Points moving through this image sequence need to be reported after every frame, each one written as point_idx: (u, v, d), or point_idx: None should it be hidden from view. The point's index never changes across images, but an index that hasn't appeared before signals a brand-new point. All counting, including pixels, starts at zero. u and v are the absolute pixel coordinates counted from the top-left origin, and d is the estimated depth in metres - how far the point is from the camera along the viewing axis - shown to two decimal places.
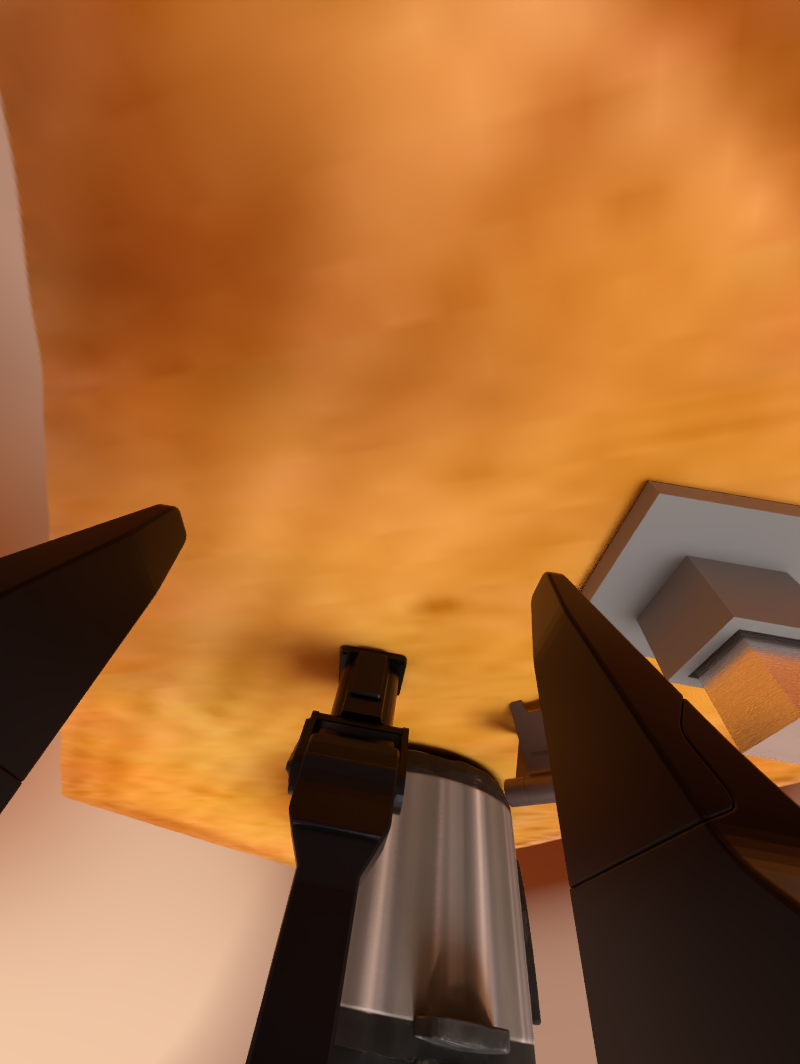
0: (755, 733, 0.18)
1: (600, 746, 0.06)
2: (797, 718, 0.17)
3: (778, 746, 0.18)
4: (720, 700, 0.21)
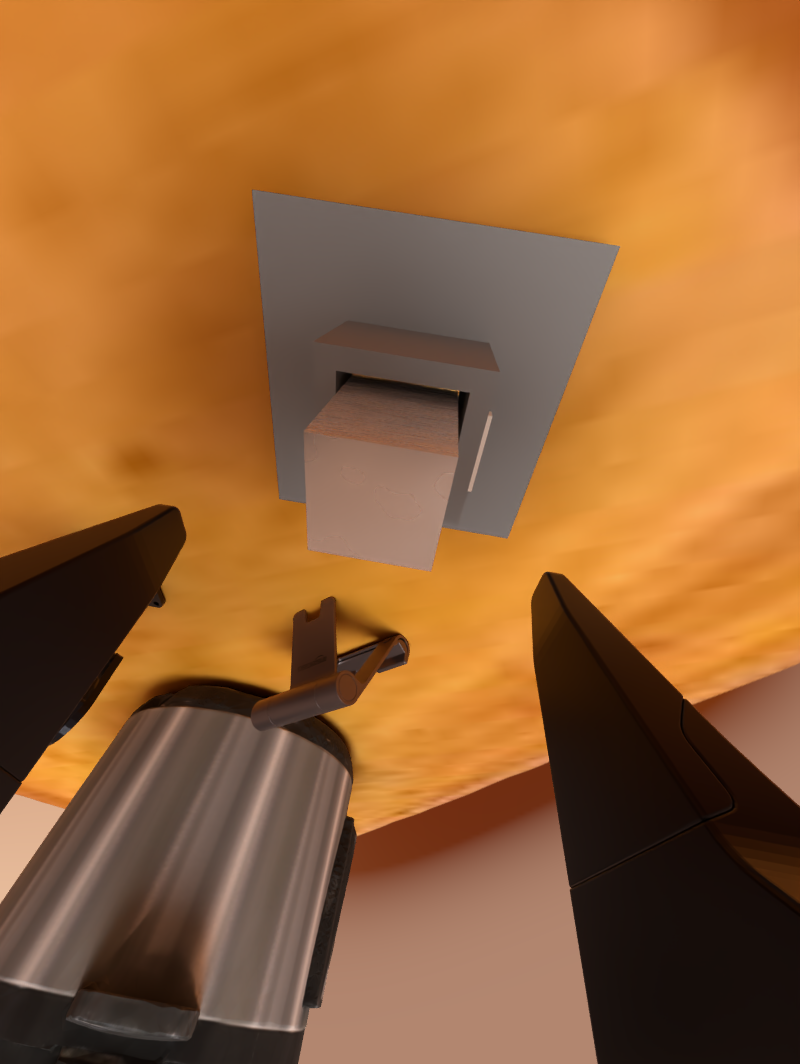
0: None
1: (600, 746, 0.06)
2: (304, 440, 0.10)
3: (338, 523, 0.11)
4: None
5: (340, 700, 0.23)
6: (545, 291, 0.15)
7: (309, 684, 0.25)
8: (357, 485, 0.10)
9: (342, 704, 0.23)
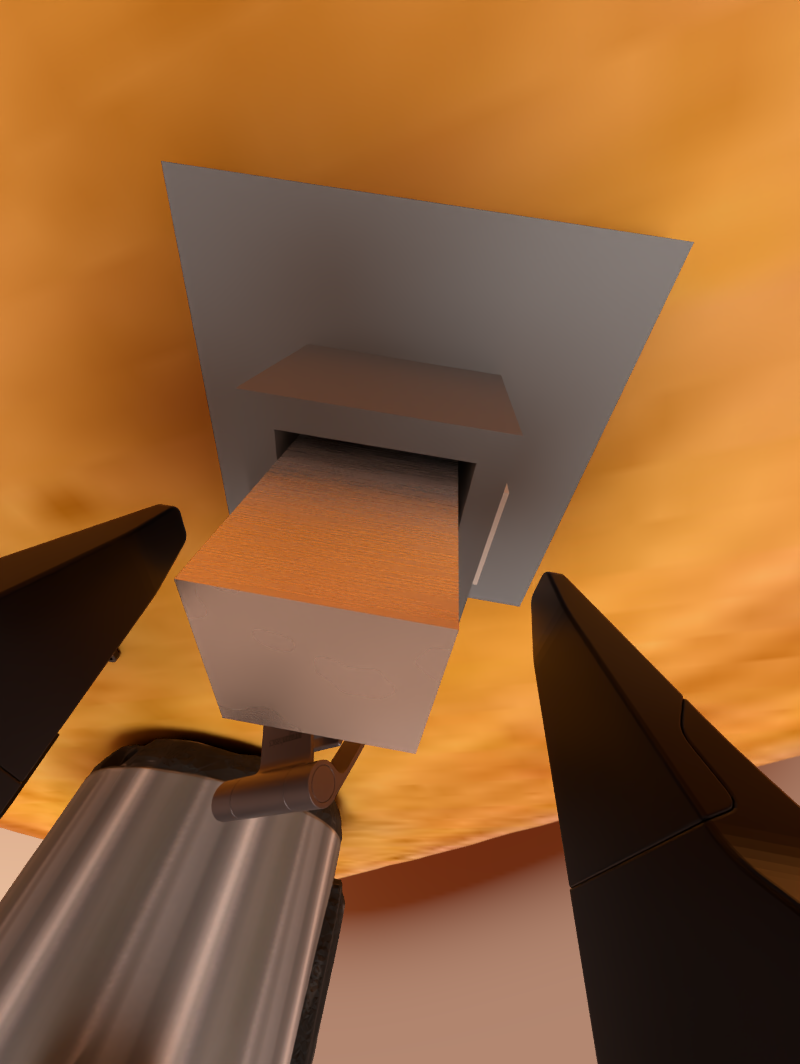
0: None
1: (600, 746, 0.06)
2: (180, 589, 0.05)
3: (262, 694, 0.07)
4: None
5: (313, 804, 0.19)
6: (582, 307, 0.11)
7: (278, 774, 0.21)
8: (284, 653, 0.06)
9: (316, 807, 0.19)
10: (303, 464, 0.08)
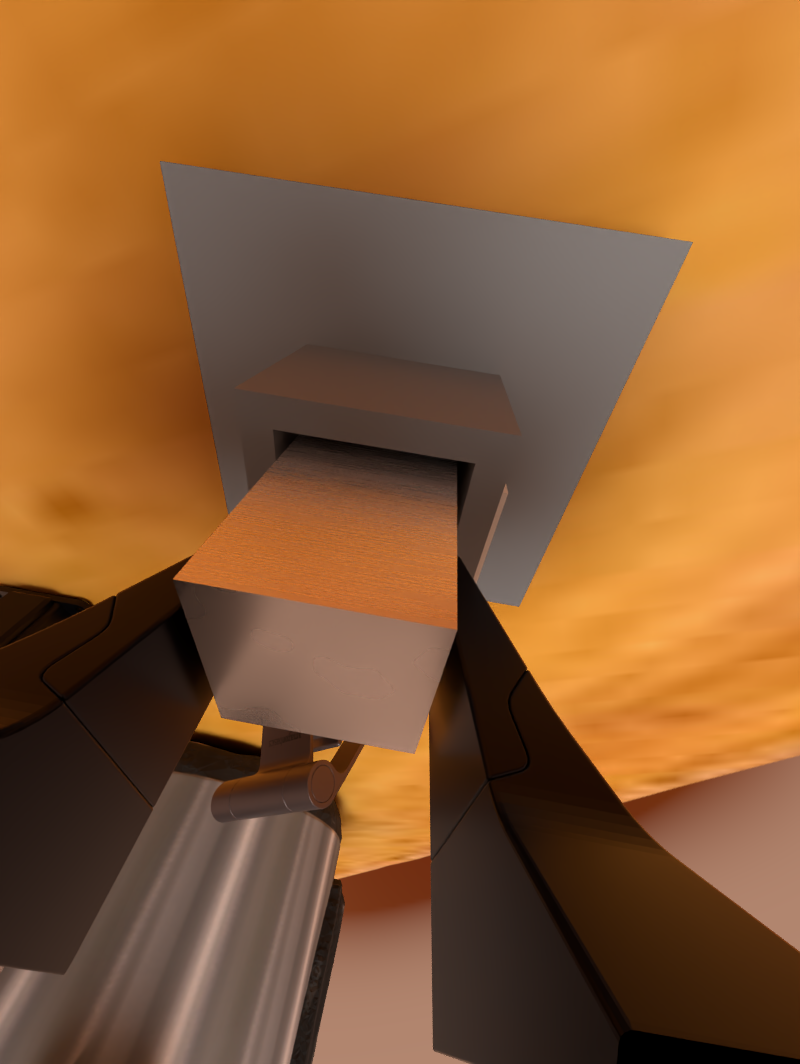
0: None
1: (450, 718, 0.06)
2: (178, 589, 0.05)
3: (261, 694, 0.07)
4: None
5: (312, 804, 0.19)
6: (581, 307, 0.11)
7: (278, 774, 0.21)
8: (282, 653, 0.06)
9: (315, 808, 0.19)
10: (302, 464, 0.08)
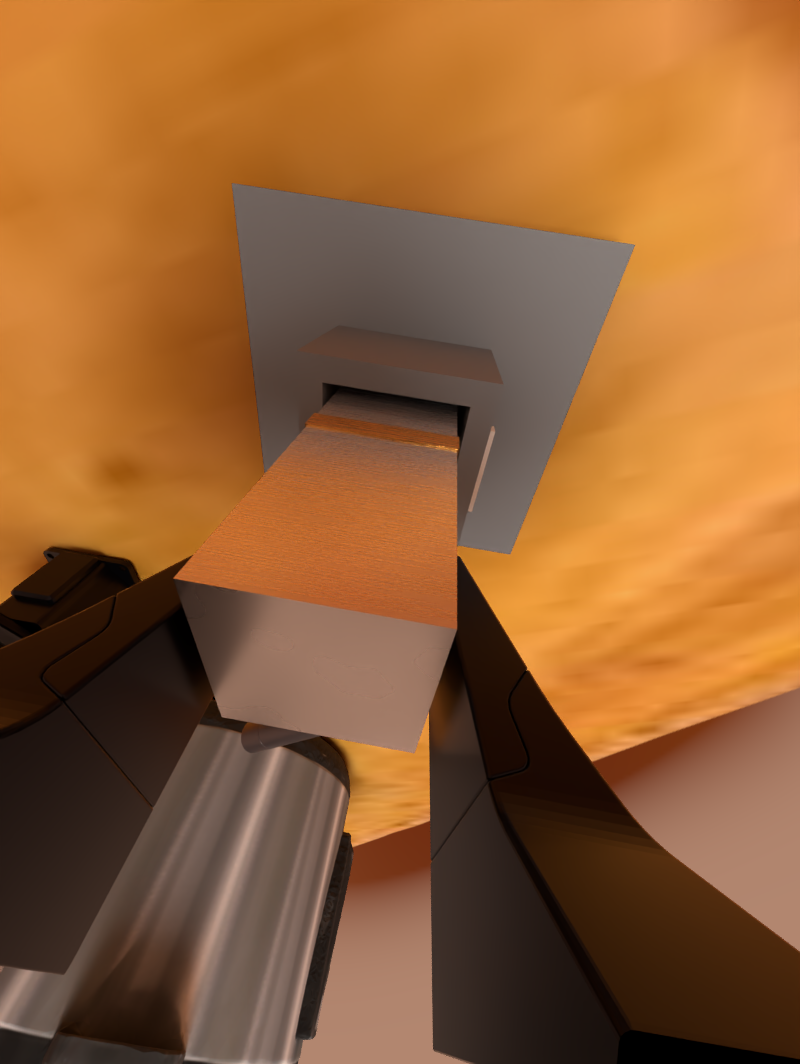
0: None
1: (450, 718, 0.06)
2: (178, 589, 0.05)
3: (261, 693, 0.07)
4: None
5: None
6: (553, 294, 0.14)
7: None
8: (283, 653, 0.06)
9: None
10: (302, 464, 0.08)
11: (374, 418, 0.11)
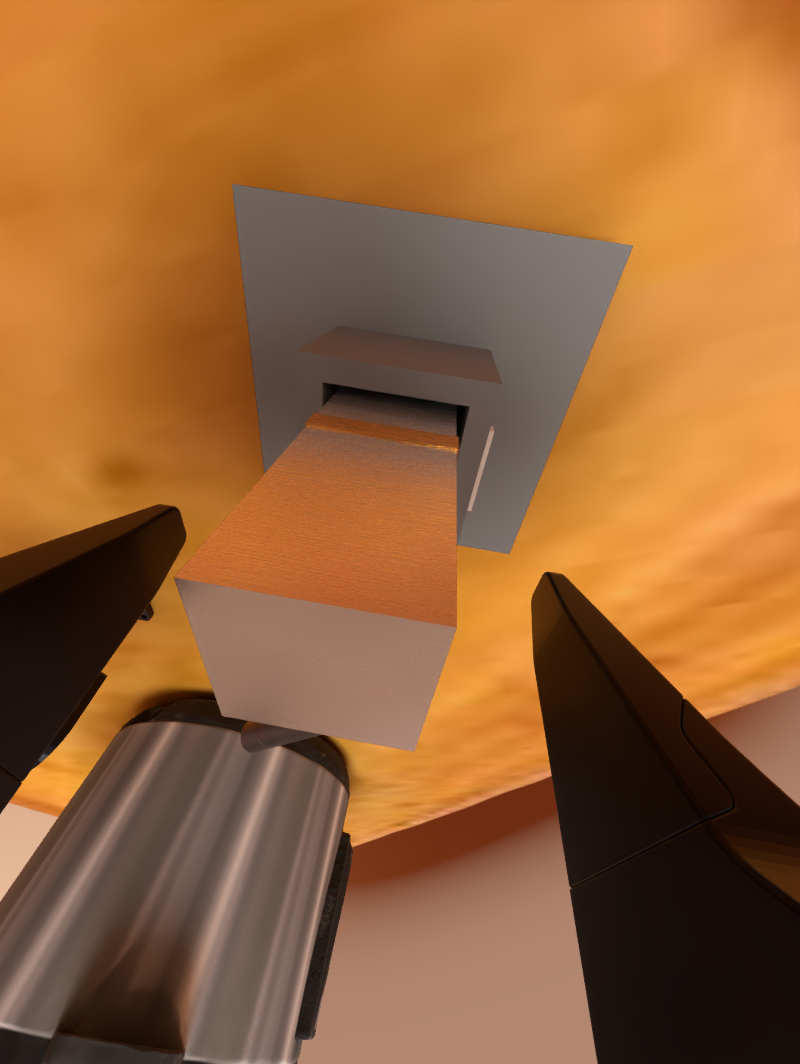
0: None
1: (600, 746, 0.06)
2: (179, 587, 0.05)
3: (262, 692, 0.07)
4: None
5: None
6: (551, 295, 0.14)
7: None
8: (284, 651, 0.06)
9: None
10: (302, 463, 0.08)
11: (374, 417, 0.11)
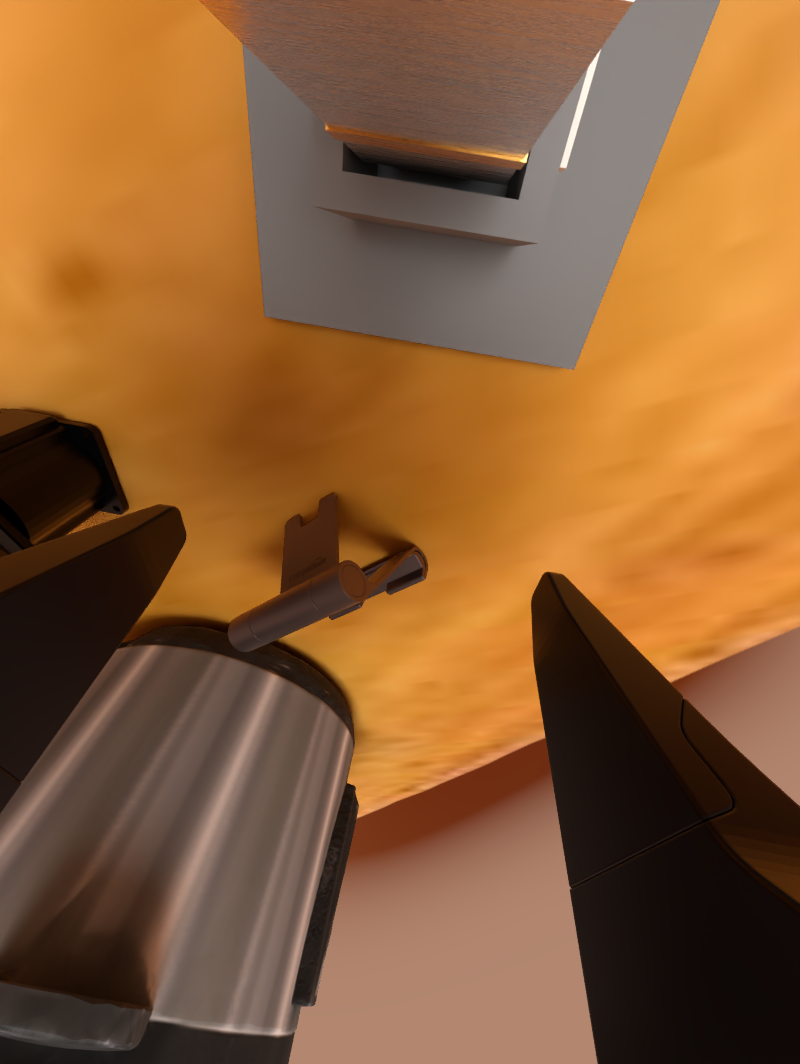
0: None
1: (600, 746, 0.06)
2: None
3: None
4: None
5: (344, 592, 0.17)
6: None
7: (303, 582, 0.19)
8: None
9: (346, 599, 0.17)
10: None
11: None
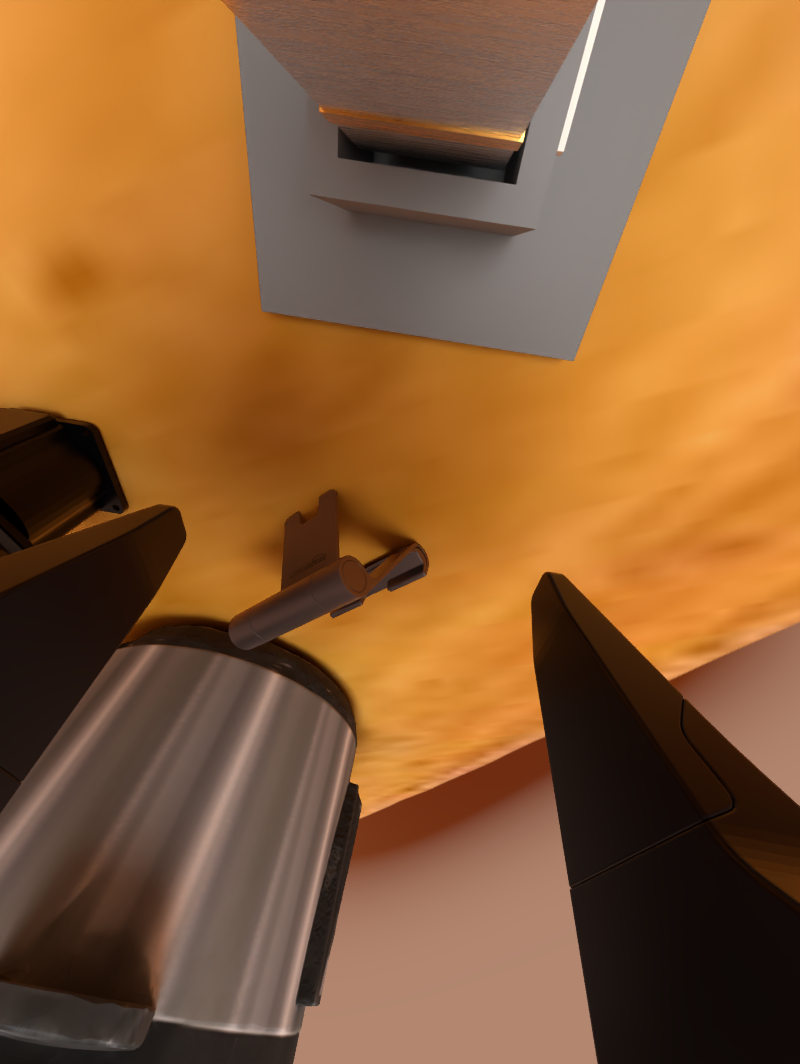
0: None
1: (600, 746, 0.06)
2: None
3: None
4: None
5: (345, 587, 0.17)
6: None
7: (303, 578, 0.19)
8: None
9: (347, 594, 0.17)
10: None
11: None
